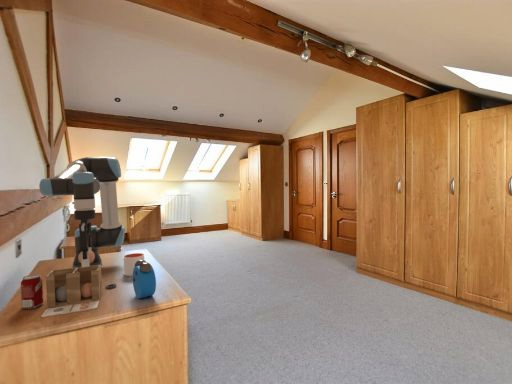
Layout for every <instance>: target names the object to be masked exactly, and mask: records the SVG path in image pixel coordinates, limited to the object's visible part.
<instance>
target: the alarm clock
mask: <svg viewBox="0 0 512 384" xmlns="http://www.w3.org/2000/svg"><path fill="white" fill-rule="evenodd" d="M132 286H133V287H132V288H133V291H134V294H135V296H136V298H137V299H143V298H144V299H145V298H146V297H151V298H153V296H154V295H155V293H156V291H157V278H156V273H155V270H154V268H153V266H152V264H151V263H149V262H147V261H146V260H145V259H144V260H139V261H137V262H136V263H135V267H134V269H133V276H132Z"/></svg>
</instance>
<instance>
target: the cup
mask: <svg viewBox="0 0 512 384" xmlns="http://www.w3.org/2000/svg"><path fill="white" fill-rule="evenodd" d="M139 260H145V254H144V253H141V252H140V253H139V252H138V253H137V252H135V253H128V254H126V255H123V274H124V276H126V277H133V269H134V267H135V263H136V262H137V261H139Z"/></svg>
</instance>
